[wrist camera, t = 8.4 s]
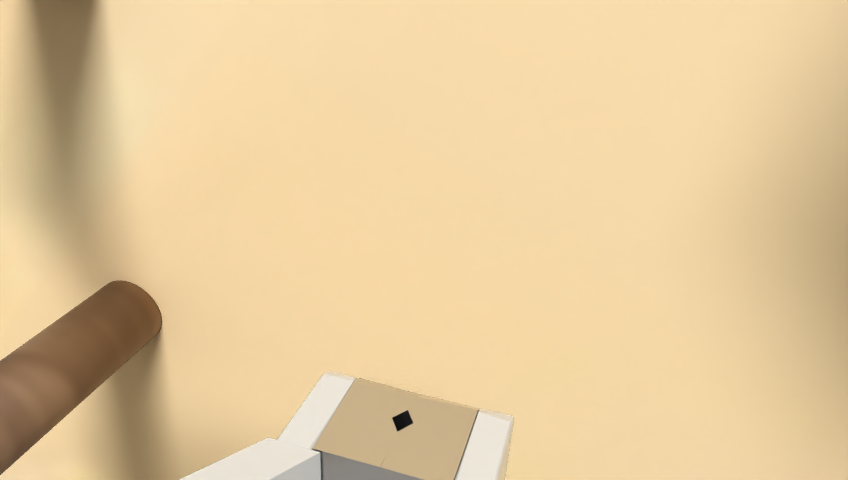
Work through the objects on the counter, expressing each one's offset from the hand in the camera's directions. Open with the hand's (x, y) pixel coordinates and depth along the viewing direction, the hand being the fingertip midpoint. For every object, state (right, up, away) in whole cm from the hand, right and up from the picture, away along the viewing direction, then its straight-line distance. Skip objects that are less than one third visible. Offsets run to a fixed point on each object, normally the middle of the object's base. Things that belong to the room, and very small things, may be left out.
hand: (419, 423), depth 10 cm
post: (-11, 0, +14) cm, 18 cm away
